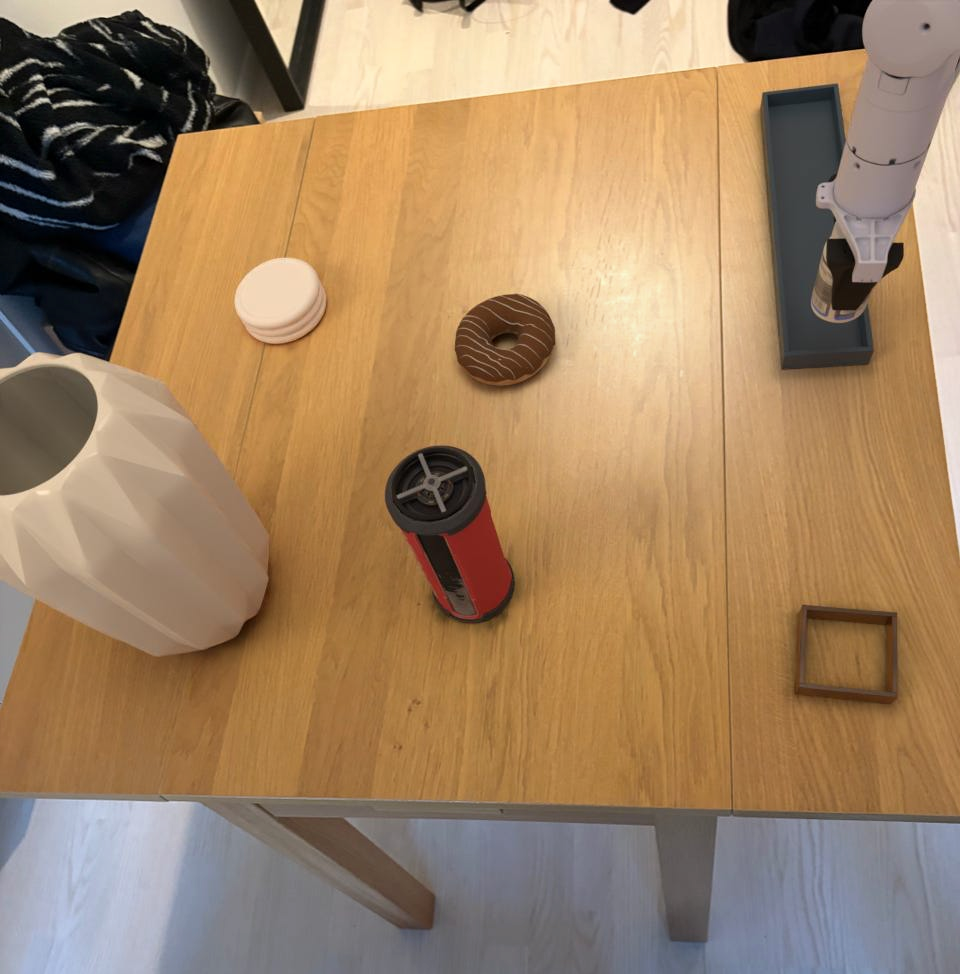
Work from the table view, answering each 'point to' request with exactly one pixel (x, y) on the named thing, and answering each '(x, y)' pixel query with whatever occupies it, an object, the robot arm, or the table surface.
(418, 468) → the speaker
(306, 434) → the table surface
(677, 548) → the table surface
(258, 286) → the pale pink macaron
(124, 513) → the vase
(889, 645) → the brown wooden square frame
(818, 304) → the pill bottle
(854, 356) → the tray
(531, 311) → the donut
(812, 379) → the table surface
